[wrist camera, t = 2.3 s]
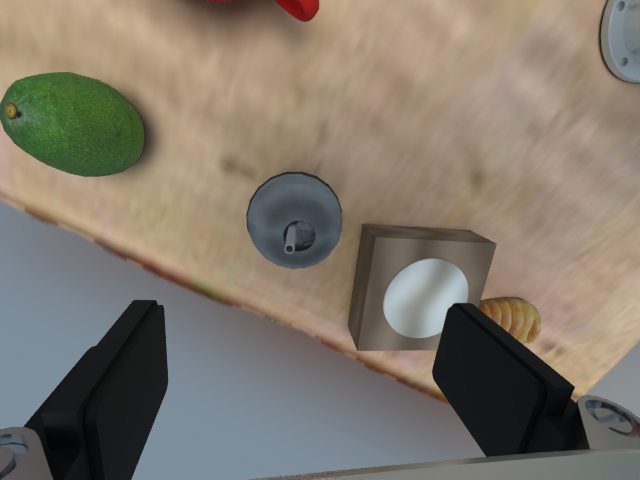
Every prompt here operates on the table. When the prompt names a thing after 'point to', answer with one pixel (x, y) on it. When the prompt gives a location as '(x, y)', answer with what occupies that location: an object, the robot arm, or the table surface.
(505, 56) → the table surface
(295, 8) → the ceramic cup
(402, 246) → the walnut stand
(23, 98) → the fruit
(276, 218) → the beverage cup
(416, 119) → the table surface
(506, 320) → the pastry
